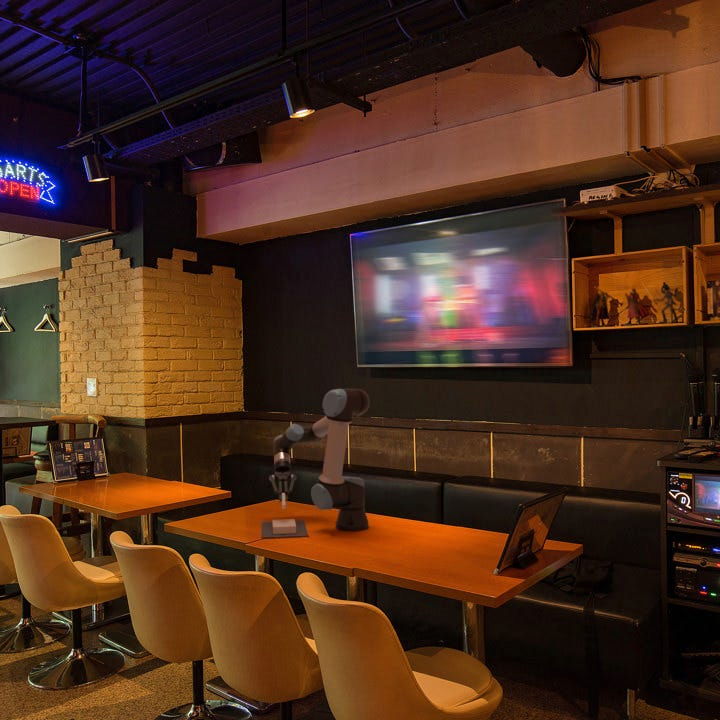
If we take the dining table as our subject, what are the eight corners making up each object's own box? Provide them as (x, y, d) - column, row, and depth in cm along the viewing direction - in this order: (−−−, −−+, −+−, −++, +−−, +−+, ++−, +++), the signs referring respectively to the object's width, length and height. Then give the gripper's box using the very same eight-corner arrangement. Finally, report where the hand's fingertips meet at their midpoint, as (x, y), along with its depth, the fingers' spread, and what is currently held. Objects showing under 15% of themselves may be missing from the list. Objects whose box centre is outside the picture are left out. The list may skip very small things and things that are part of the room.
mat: (261, 524, 320) (261, 521, 321) (304, 522, 323) (304, 520, 323) (261, 539, 291) (261, 537, 291) (308, 537, 294) (308, 534, 294)
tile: (272, 519, 309) (272, 527, 294) (294, 519, 311) (296, 526, 296) (272, 527, 309) (272, 534, 294) (294, 526, 311) (296, 533, 296)
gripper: (296, 468, 324) (298, 511, 308) (268, 469, 323) (269, 512, 306) (296, 459, 319) (298, 501, 302) (268, 459, 317) (269, 502, 301)
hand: (283, 506), depth 304 cm, fingers closed
